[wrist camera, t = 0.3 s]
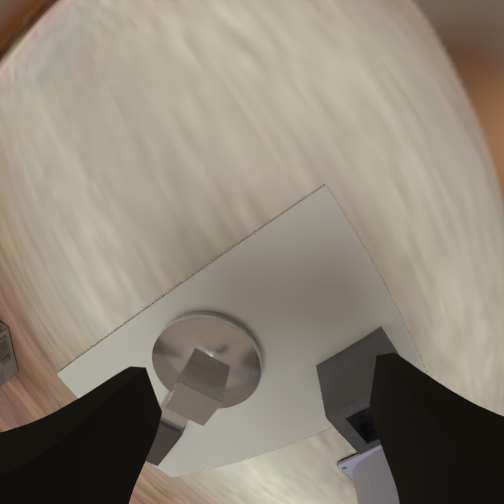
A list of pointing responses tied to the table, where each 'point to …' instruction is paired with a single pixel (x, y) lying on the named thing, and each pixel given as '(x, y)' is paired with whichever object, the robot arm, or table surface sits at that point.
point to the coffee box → (6, 355)
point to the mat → (265, 330)
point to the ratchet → (201, 372)
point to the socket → (353, 389)
